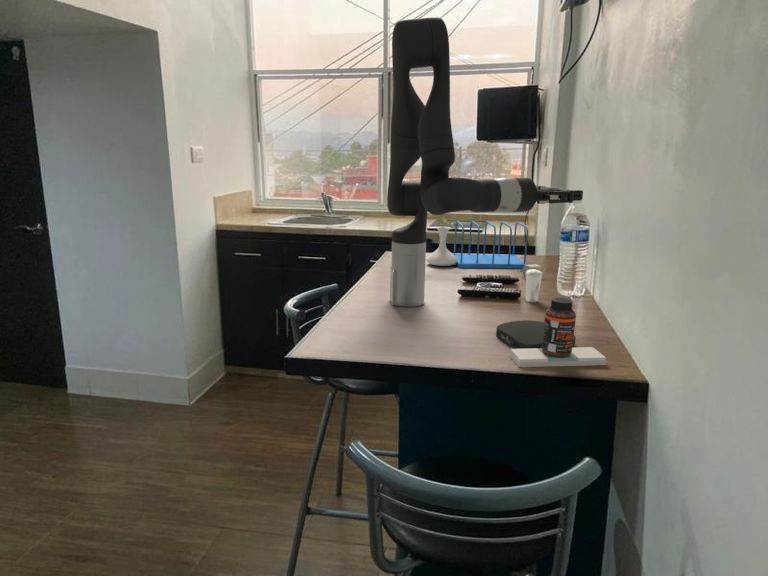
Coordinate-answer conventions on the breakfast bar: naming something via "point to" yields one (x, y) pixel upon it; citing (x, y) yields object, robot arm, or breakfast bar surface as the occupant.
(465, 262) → the file sorter
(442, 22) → the robot arm
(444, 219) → the flower in vase
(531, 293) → the milkshake
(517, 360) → the key strip
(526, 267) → the usb wall charger
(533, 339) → the media streaming box
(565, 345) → the supplement bottle
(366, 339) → the breakfast bar surface
